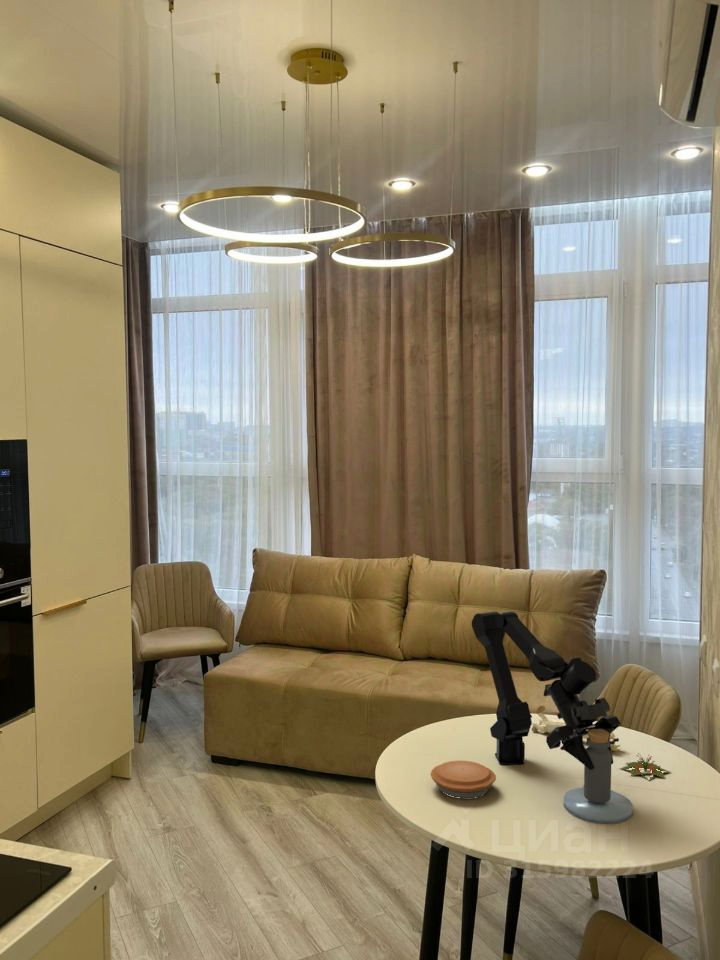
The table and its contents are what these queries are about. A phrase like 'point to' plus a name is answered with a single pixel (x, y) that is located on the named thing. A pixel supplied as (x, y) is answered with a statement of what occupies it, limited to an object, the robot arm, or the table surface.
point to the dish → (598, 807)
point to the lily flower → (646, 766)
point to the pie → (463, 778)
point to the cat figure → (552, 724)
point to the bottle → (598, 767)
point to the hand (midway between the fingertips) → (602, 766)
